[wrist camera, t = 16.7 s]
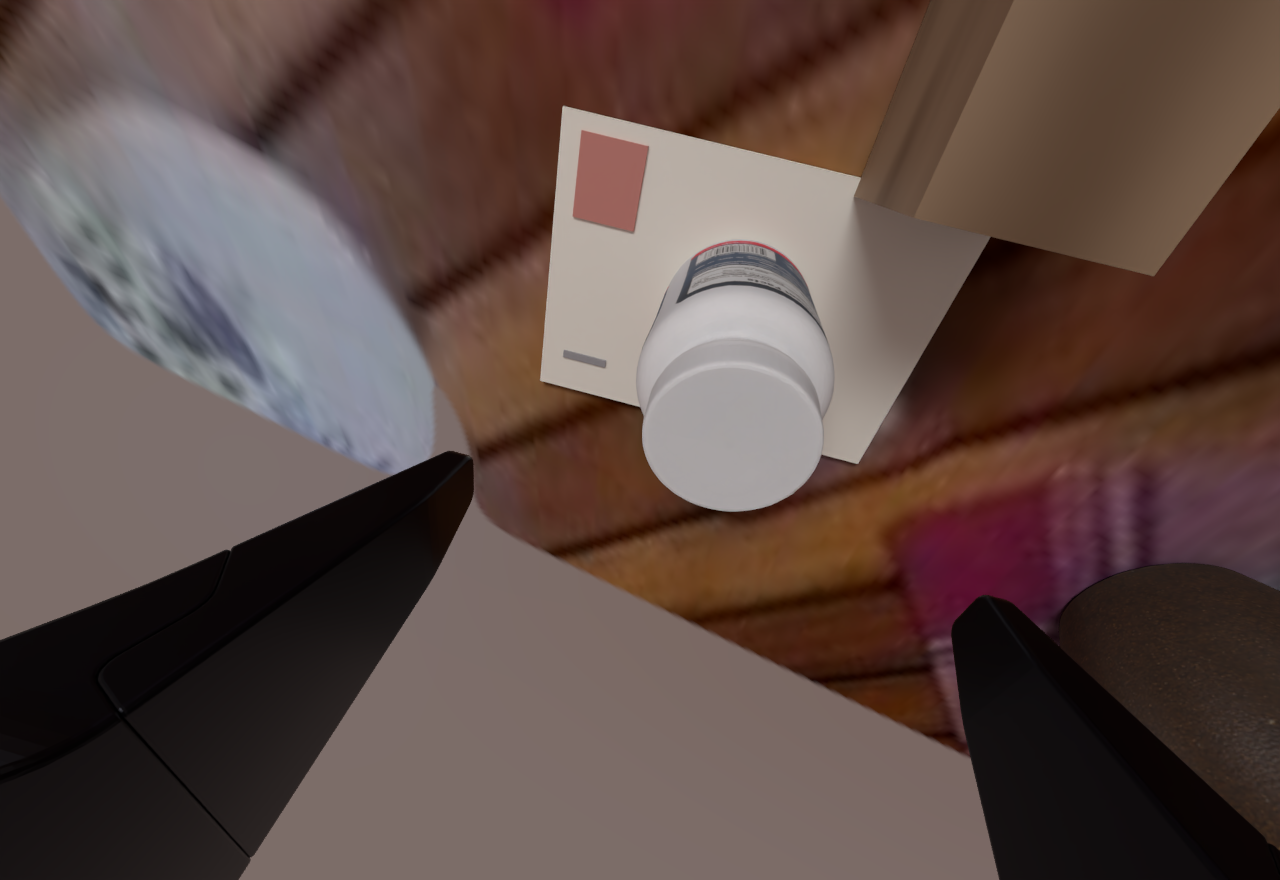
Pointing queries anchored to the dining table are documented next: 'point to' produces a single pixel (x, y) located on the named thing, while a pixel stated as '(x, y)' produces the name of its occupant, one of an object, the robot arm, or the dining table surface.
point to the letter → (724, 210)
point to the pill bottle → (735, 379)
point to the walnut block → (1076, 120)
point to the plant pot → (1193, 672)
